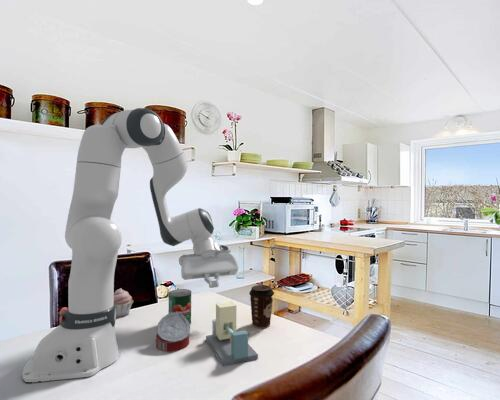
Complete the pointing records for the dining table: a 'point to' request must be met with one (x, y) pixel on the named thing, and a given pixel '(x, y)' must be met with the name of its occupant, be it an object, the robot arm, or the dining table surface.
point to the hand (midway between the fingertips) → (214, 286)
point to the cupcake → (122, 302)
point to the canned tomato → (180, 302)
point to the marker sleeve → (225, 319)
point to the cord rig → (231, 346)
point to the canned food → (172, 332)
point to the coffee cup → (261, 305)
